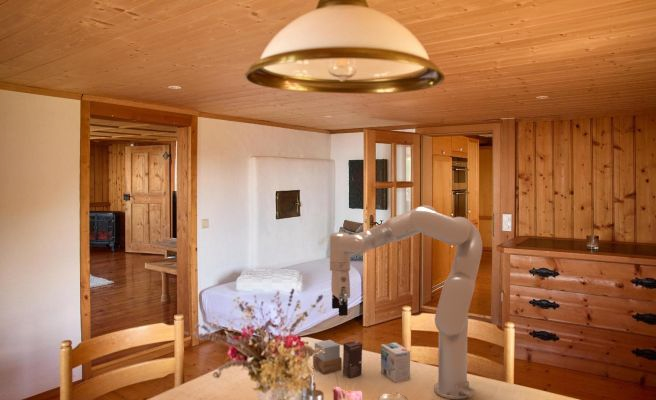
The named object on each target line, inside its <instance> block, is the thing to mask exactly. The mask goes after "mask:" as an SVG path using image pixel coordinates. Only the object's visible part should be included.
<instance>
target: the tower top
mask: <svg viewBox="0 0 656 400" xmlns="http://www.w3.org/2000/svg"><path fill="white" fill-rule="evenodd" d="M340 345H341V344H339V343H337V342H335V341H334V340H332V339H327V340H323V341H318V342H314V350H315V349H316V348H324V349H325V353H319V354H315V353H314V355H315V356H316V357H318V358H319V359H321V360H323V361H328V360H332V359H336V358H340V357H341V353H340V352H341V348H340V347H341V346H340Z"/></svg>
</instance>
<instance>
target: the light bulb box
mask: <svg viewBox="0 0 656 400" xmlns="http://www.w3.org/2000/svg"><path fill="white" fill-rule="evenodd" d="M380 372H381V374H382V375H384V376H386V377H387V378H388V379H390V381H392V382H393V383H398V382H405V381H409V380H411V350H409V349H407V348H406V347H404V346H402V345H401V344H399V343H398V342H396V341H395V342H390V343H383V344H380Z"/></svg>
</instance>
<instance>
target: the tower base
mask: <svg viewBox="0 0 656 400" xmlns="http://www.w3.org/2000/svg"><path fill="white" fill-rule="evenodd" d="M313 367H314V368H315V369H314V368H313ZM312 368H313V369H314V370H316V371H317V372H319V373H320V374H322V375H323V376H324V375H328V374H332V373H336V372H340V371H343V358H342V357H341V356H340V358H336V359H332V360H328V361H323V360H321V359H319V358H318V357H316V356H315V354H314V355H312Z"/></svg>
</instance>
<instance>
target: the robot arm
mask: <svg viewBox="0 0 656 400" xmlns="http://www.w3.org/2000/svg"><path fill="white" fill-rule="evenodd" d="M420 233H421V234H423V235H424V236H428V237H430V238H432V239H435V240H438V241H440V242H442V243H445V244H448V245H452V246H456V249H455V252H454V256H453V259H452V260H453V261H452V265H451V268H450V272H449V274H448V276H447V277H446V279H445V280H444V282H443V285H442V288H441V292H440V295H439V300H438V304H437V307H436V311H435V316H434V325H435V327H436V329H437V331H438V350H437V351H438V353H437V354H438V355H437V356H438V362H437V363H438V364H437V365H438V369H437V370H438V371H437V372H438V375H437V376H438V378H437V380H438V382H436V383H435V384H434V386H433V391H434V393H435V394H436V395H438V396H439V397H442V398H445V399H451V400H464V399H467V398H471V397H473V394H475V391H476V390H475V389H474V388H472V387H471V386H470V381H468V330H469V329H468V328H469V327H468V326H469V310H470V307H471V302H472V299H473V294H474V292H475V289H476V288H475V287H476V286H475V285H476V279H477V276H478V274H479V268H480V262H481V259H482V254H483V240H482V237H481V233H480V231H479V230H478V228H477V227H476V225H475V224H474V223H473V222H472V221H471V220H469V219H468V218H466V217H463V216H456V217H451V216H449V215H446V214H443V213H440V212H438V211H437V210H436V209H435V208H434V207H433V206H431V205H428V204H424V205H420V206H417V207H415V208H413V209H411V210H408V211H405V212H403V213H401V214H399V215H396V216H394V217H391V218H389V219H387V220H386V221H385V222H383V223H381V224H378V225H376V226H374V227H371V228H368V229H366V230H363V231H360V232H357V233H355V234H349V233H348V232H341V231H339V232H337V231H336V232H332V233H331V234H330V235H329V271H331V284H330V287H331V289H330V290H331V295H332V296H331V308H332V310H333V309H337V310H338V316H340V317H342V316H344V317H345V316H348V313H349V312H348V308H349V307H348V306H349V298H351V281H350V271H351V255H353V256H354V255H355V256H360V255H364V254H365V253H367V252H369V251H371V250H374V249H376V248H379V247H381V246H384V245H387V244H390V243H397V242H400V241H403V240H405V239H408V238H410V237H414V236H415V235H418V234H420Z"/></svg>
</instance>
